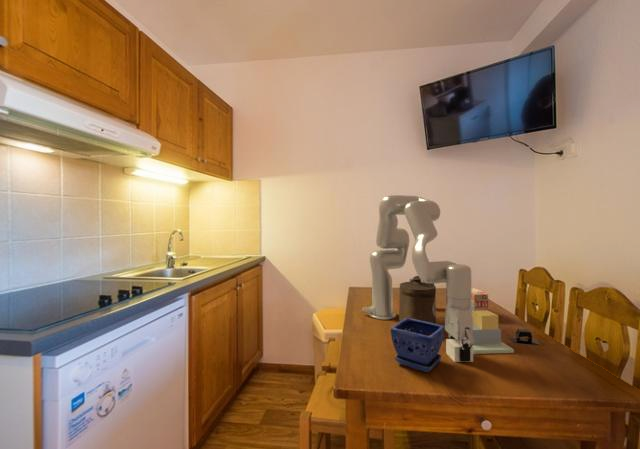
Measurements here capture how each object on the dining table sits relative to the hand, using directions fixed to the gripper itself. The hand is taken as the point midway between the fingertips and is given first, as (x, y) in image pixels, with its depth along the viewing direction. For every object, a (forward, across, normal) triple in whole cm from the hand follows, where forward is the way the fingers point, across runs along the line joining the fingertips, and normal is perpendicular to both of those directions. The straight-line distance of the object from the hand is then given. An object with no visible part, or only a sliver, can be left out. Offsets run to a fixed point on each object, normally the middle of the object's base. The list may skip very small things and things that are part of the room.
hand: (459, 355), depth 95 cm
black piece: (+1, -11, +30) cm, 32 cm away
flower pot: (+1, +3, -15) cm, 15 cm away
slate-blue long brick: (-1, -10, +13) cm, 16 cm away
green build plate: (+1, -10, +13) cm, 16 cm away
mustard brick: (-6, -10, +15) cm, 19 cm away
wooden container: (+1, -27, -4) cm, 27 cm away
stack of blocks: (+1, -44, +28) cm, 52 cm away
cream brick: (+1, 0, 0) cm, 1 cm away
